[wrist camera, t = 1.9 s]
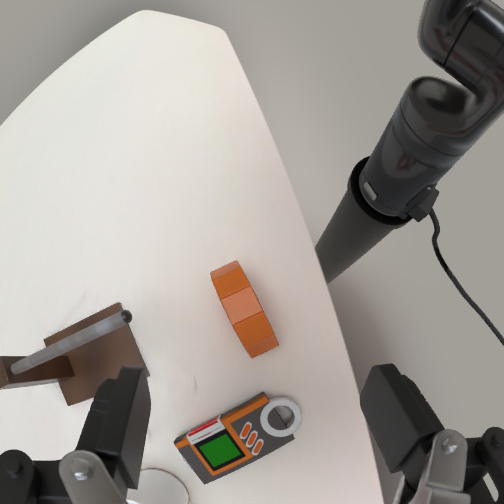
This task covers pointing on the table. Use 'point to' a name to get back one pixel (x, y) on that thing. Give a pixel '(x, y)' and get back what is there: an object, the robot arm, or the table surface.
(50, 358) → the hook stand
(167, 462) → the table surface
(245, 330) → the tape roll
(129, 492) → the mug
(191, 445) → the electronic device
